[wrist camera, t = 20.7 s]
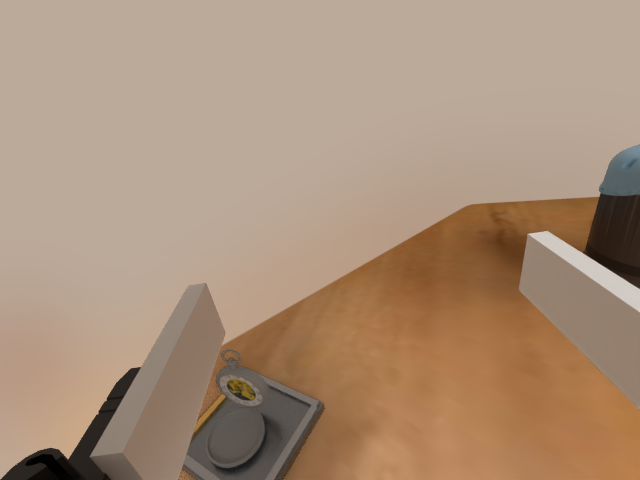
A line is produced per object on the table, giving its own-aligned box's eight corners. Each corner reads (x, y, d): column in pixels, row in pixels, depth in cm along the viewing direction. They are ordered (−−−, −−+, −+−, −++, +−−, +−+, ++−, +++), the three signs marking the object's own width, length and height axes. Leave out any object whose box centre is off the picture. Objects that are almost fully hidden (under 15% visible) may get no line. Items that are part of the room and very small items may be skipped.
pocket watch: (207, 481, 33) (172, 421, 28) (209, 410, 40) (181, 354, 35) (284, 450, 34) (262, 389, 30) (271, 387, 42) (252, 330, 37)
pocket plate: (247, 372, 46) (245, 366, 45) (324, 408, 39) (322, 400, 38) (171, 460, 36) (166, 453, 35) (255, 527, 29) (251, 519, 29)
